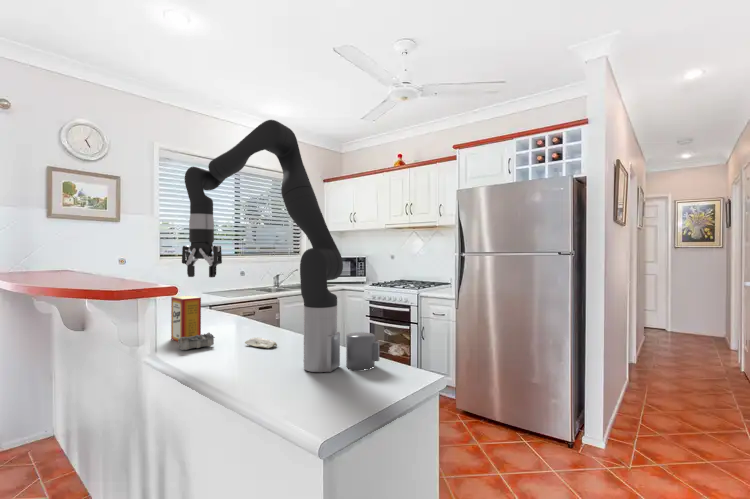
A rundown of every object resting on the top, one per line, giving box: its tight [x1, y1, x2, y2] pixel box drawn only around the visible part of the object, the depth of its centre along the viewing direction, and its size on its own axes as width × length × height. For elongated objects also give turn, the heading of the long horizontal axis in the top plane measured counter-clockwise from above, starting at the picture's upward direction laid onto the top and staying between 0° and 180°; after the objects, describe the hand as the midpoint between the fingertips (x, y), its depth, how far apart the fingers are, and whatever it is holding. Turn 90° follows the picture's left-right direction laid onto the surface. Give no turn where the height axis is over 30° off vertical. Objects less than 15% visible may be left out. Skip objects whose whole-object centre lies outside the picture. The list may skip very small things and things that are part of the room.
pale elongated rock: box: [244, 337, 278, 349], centre depth 134 cm, size 12×5×4 cm
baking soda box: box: [170, 295, 202, 343], centre depth 144 cm, size 10×6×16 cm
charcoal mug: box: [345, 331, 380, 371], centre depth 111 cm, size 9×8×9 cm
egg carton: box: [177, 332, 216, 351], centre depth 132 cm, size 11×8×4 cm
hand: (201, 277), depth 131 cm, fingers open, 8 cm apart
